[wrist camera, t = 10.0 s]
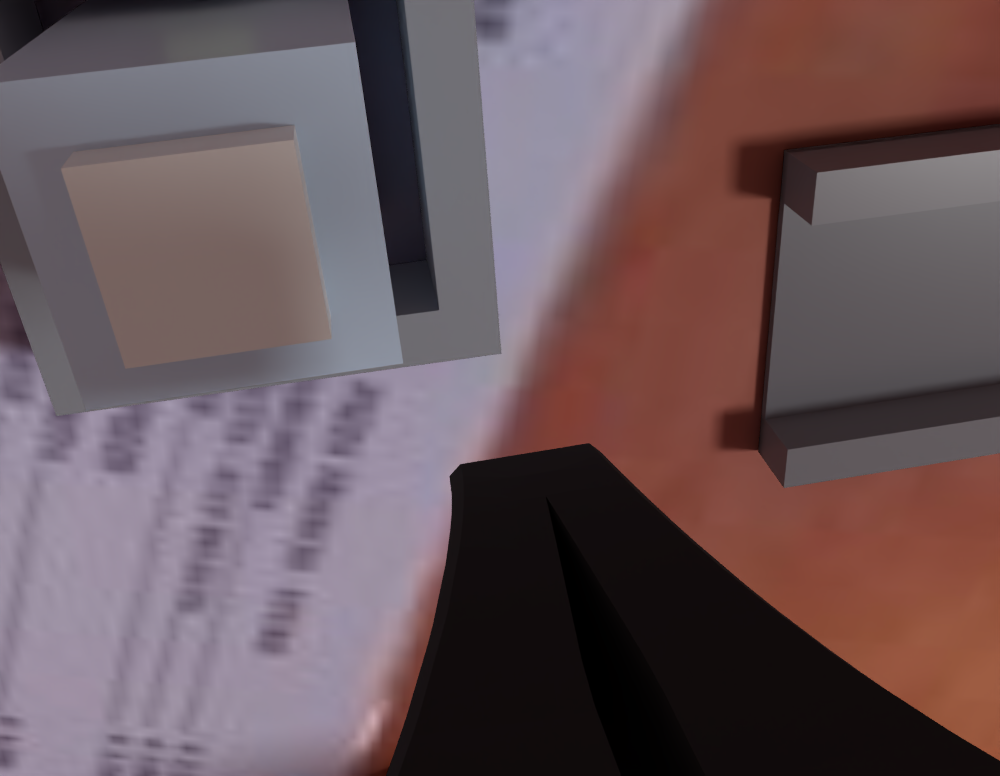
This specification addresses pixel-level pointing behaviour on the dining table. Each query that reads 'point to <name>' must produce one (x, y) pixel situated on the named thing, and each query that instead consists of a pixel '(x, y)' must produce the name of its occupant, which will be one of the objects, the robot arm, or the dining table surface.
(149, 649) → the dining table surface
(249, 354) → the plug
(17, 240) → the port
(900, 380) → the grey ridged plate
